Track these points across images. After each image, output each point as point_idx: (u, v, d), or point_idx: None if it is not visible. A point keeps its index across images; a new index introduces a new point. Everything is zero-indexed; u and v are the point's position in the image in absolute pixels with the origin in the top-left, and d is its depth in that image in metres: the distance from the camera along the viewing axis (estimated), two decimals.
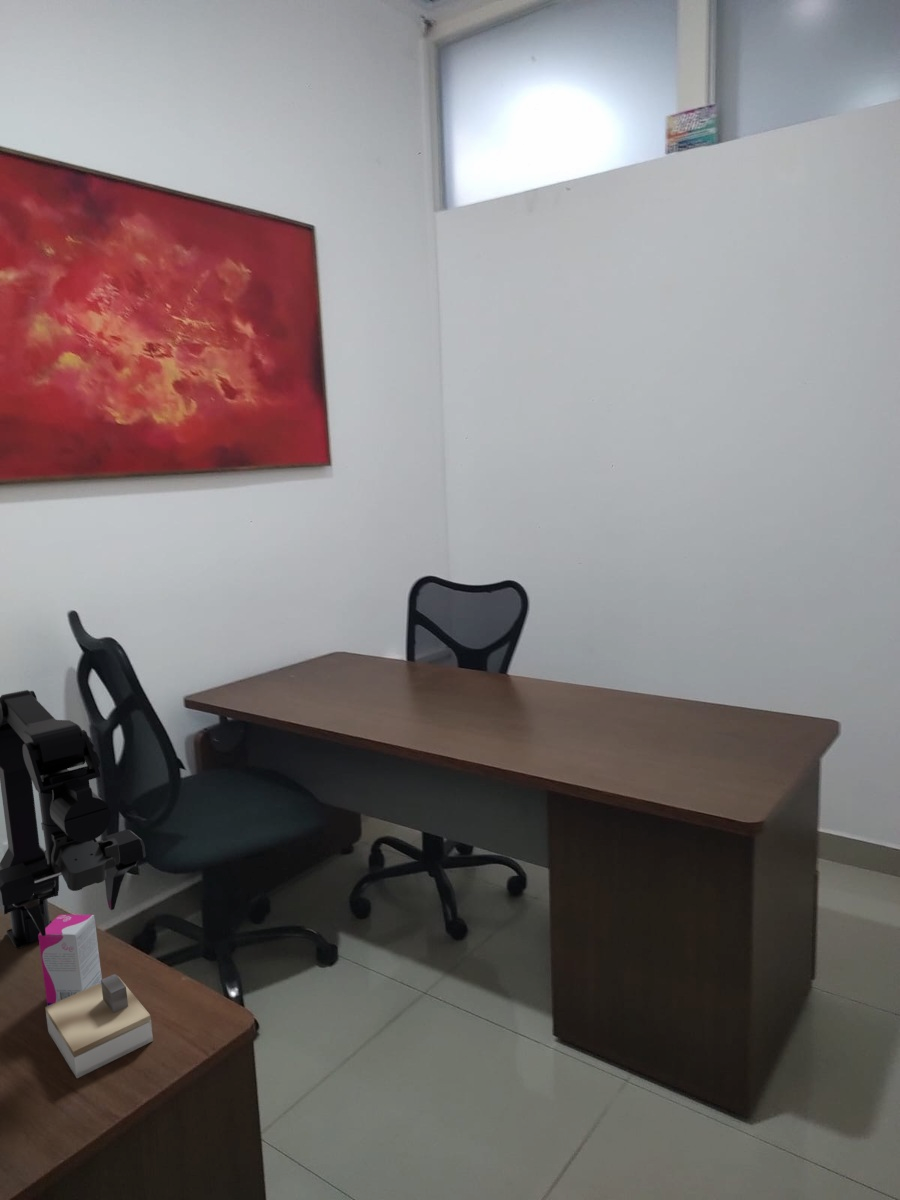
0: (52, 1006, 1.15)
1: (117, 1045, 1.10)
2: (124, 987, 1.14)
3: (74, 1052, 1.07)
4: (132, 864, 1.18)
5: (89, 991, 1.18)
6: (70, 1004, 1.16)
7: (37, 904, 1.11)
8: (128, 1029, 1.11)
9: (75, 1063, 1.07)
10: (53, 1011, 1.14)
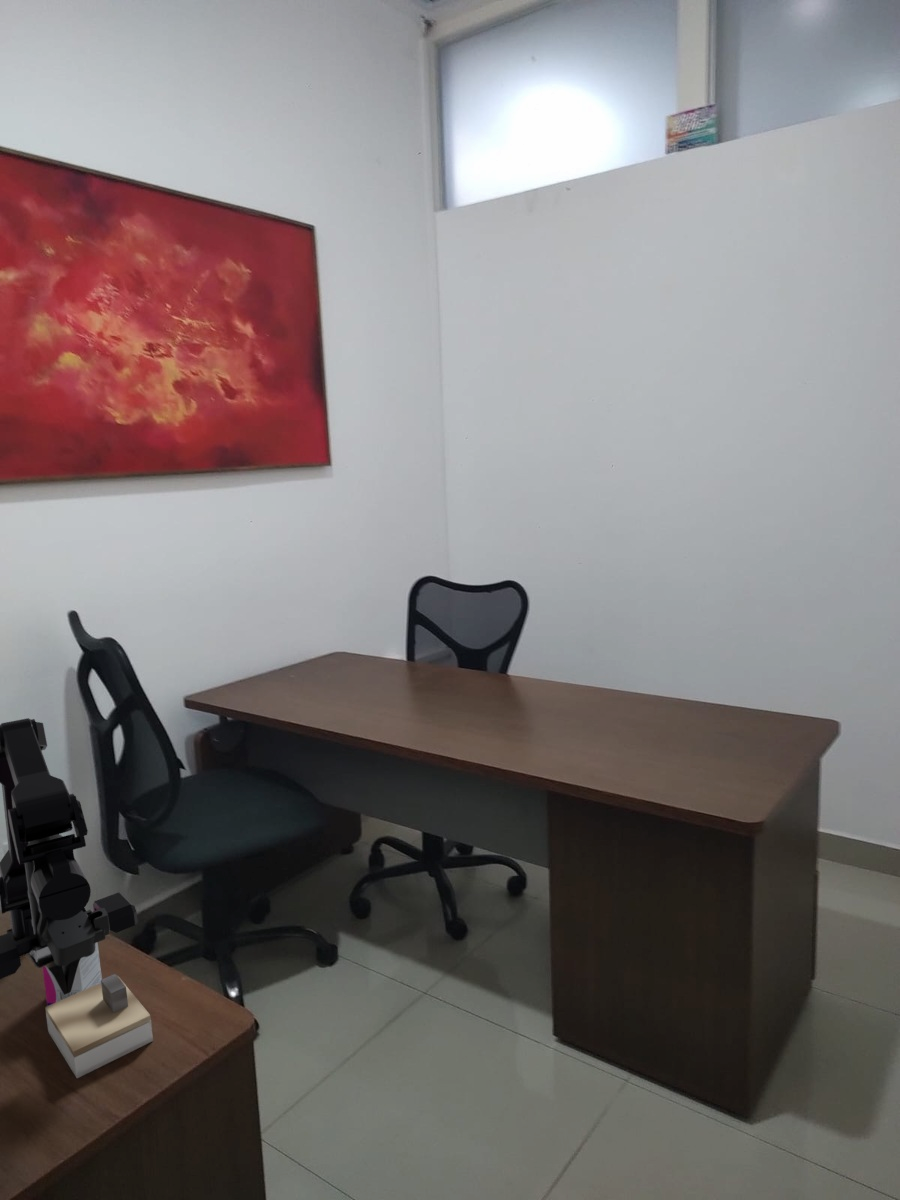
0: (52, 1006, 1.15)
1: (117, 1045, 1.10)
2: (124, 987, 1.14)
3: (74, 1052, 1.07)
4: None
5: (89, 991, 1.18)
6: (70, 1004, 1.16)
7: None
8: (128, 1029, 1.11)
9: (75, 1063, 1.07)
10: (53, 1011, 1.14)
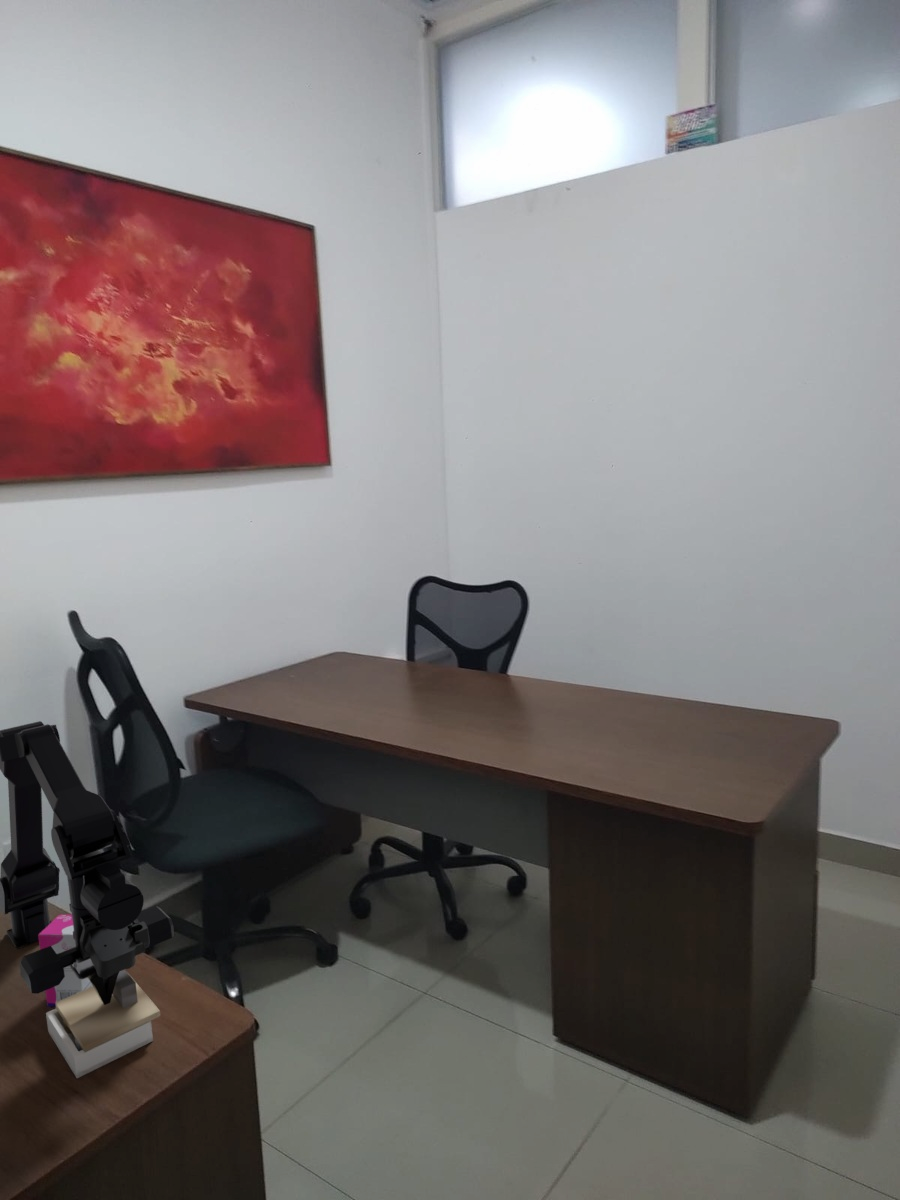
0: (62, 1002, 1.16)
1: (117, 1045, 1.10)
2: (134, 983, 1.15)
3: (85, 1047, 1.07)
4: None
5: None
6: (80, 999, 1.17)
7: None
8: (138, 1024, 1.12)
9: (75, 1063, 1.07)
10: (63, 1007, 1.15)
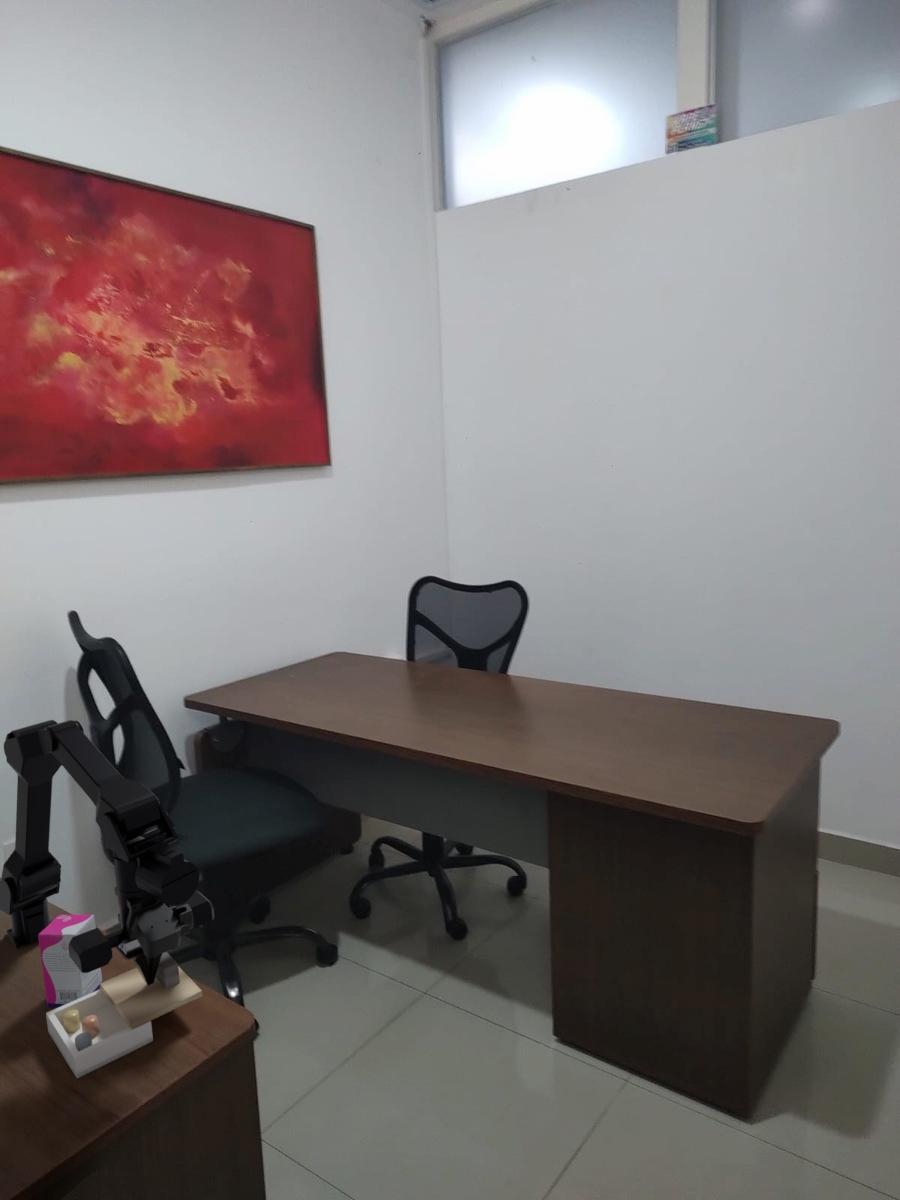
0: (106, 982, 1.20)
1: (117, 1045, 1.10)
2: (176, 964, 1.19)
3: (132, 1025, 1.11)
4: None
5: None
6: (123, 980, 1.21)
7: (145, 956, 1.16)
8: (181, 1004, 1.16)
9: (75, 1063, 1.07)
10: (108, 987, 1.19)
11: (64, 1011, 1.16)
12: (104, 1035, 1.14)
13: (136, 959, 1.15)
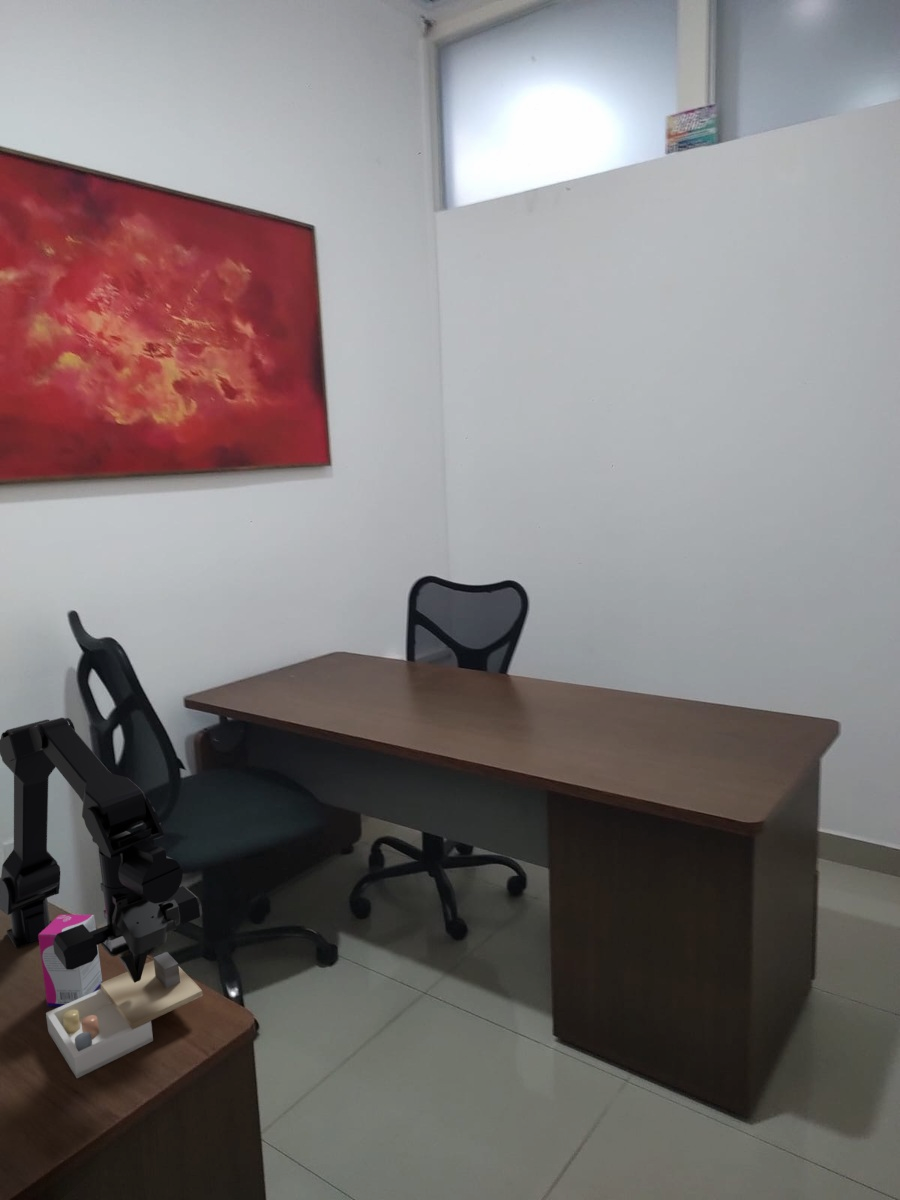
0: (107, 982, 1.20)
1: (117, 1045, 1.10)
2: (176, 964, 1.19)
3: (132, 1025, 1.11)
4: None
5: None
6: (124, 980, 1.21)
7: (131, 952, 1.15)
8: (182, 1003, 1.16)
9: (75, 1063, 1.07)
10: (108, 987, 1.19)
11: (64, 1011, 1.16)
12: (104, 1035, 1.14)
13: (122, 956, 1.14)
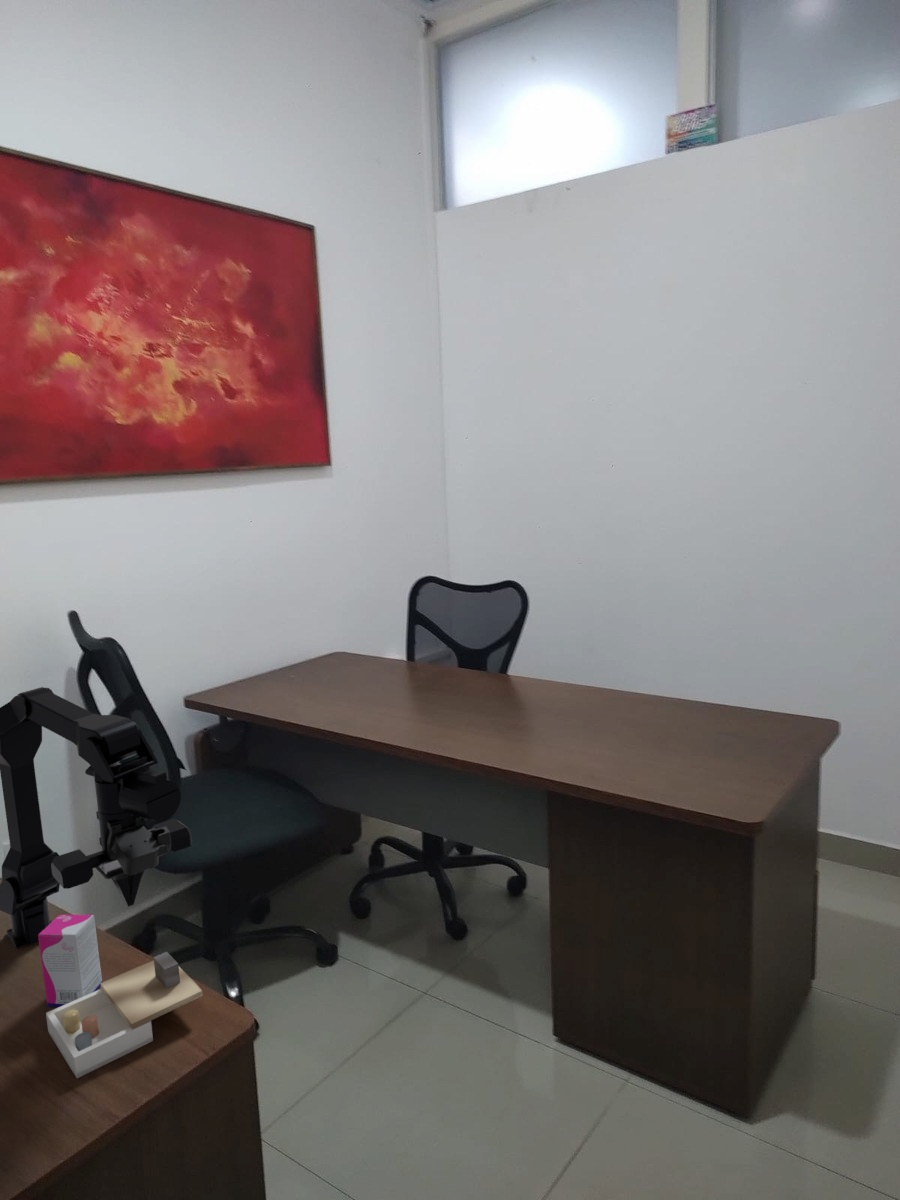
0: (107, 982, 1.20)
1: (117, 1045, 1.10)
2: (176, 964, 1.19)
3: (132, 1025, 1.11)
4: None
5: (141, 969, 1.23)
6: (124, 980, 1.21)
7: (125, 877, 1.21)
8: (182, 1003, 1.16)
9: (75, 1063, 1.07)
10: (108, 987, 1.19)
11: (64, 1011, 1.16)
12: (104, 1035, 1.14)
13: (116, 879, 1.20)
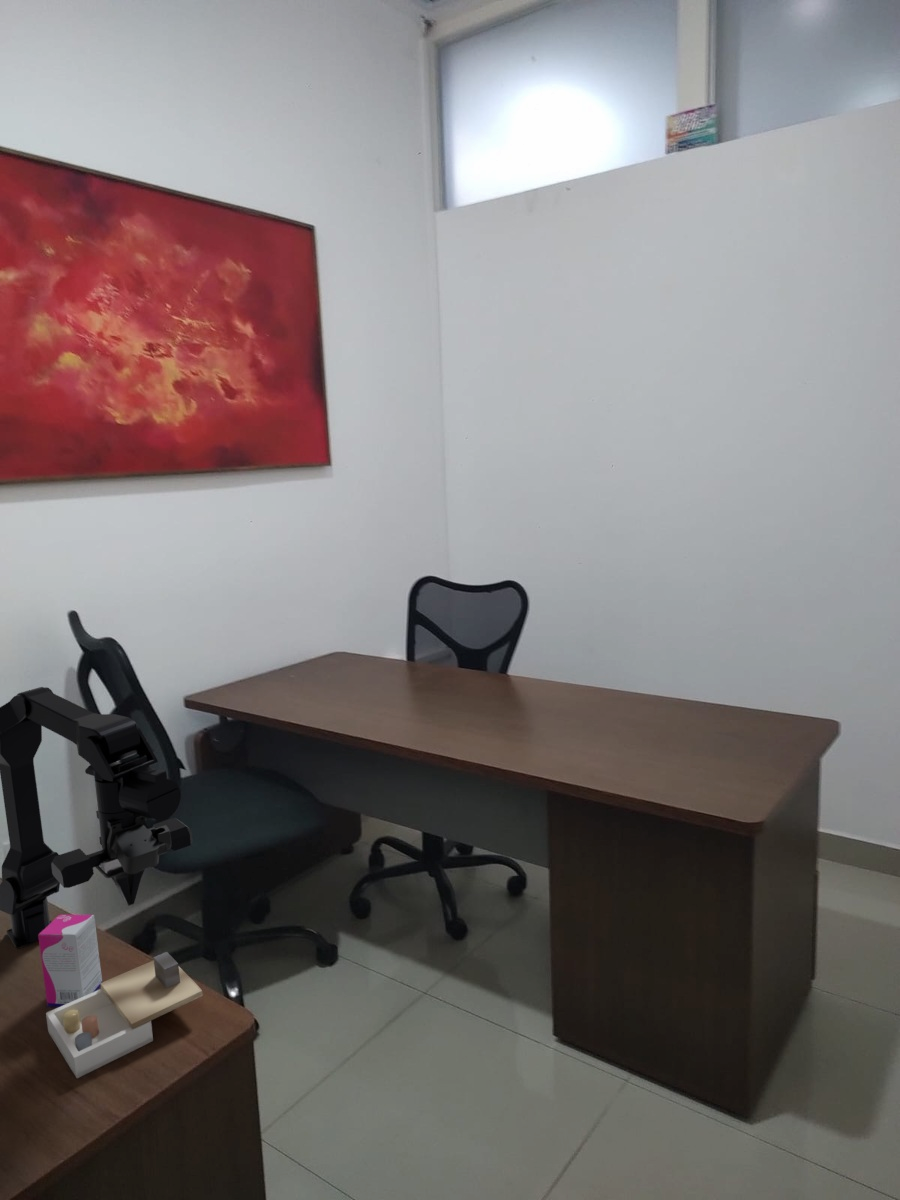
0: (107, 982, 1.20)
1: (117, 1045, 1.10)
2: (176, 964, 1.19)
3: (132, 1025, 1.11)
4: None
5: (141, 969, 1.23)
6: (124, 980, 1.21)
7: (125, 876, 1.21)
8: (182, 1003, 1.16)
9: (75, 1063, 1.07)
10: (108, 987, 1.19)
11: (64, 1011, 1.16)
12: (104, 1035, 1.14)
13: (116, 878, 1.20)
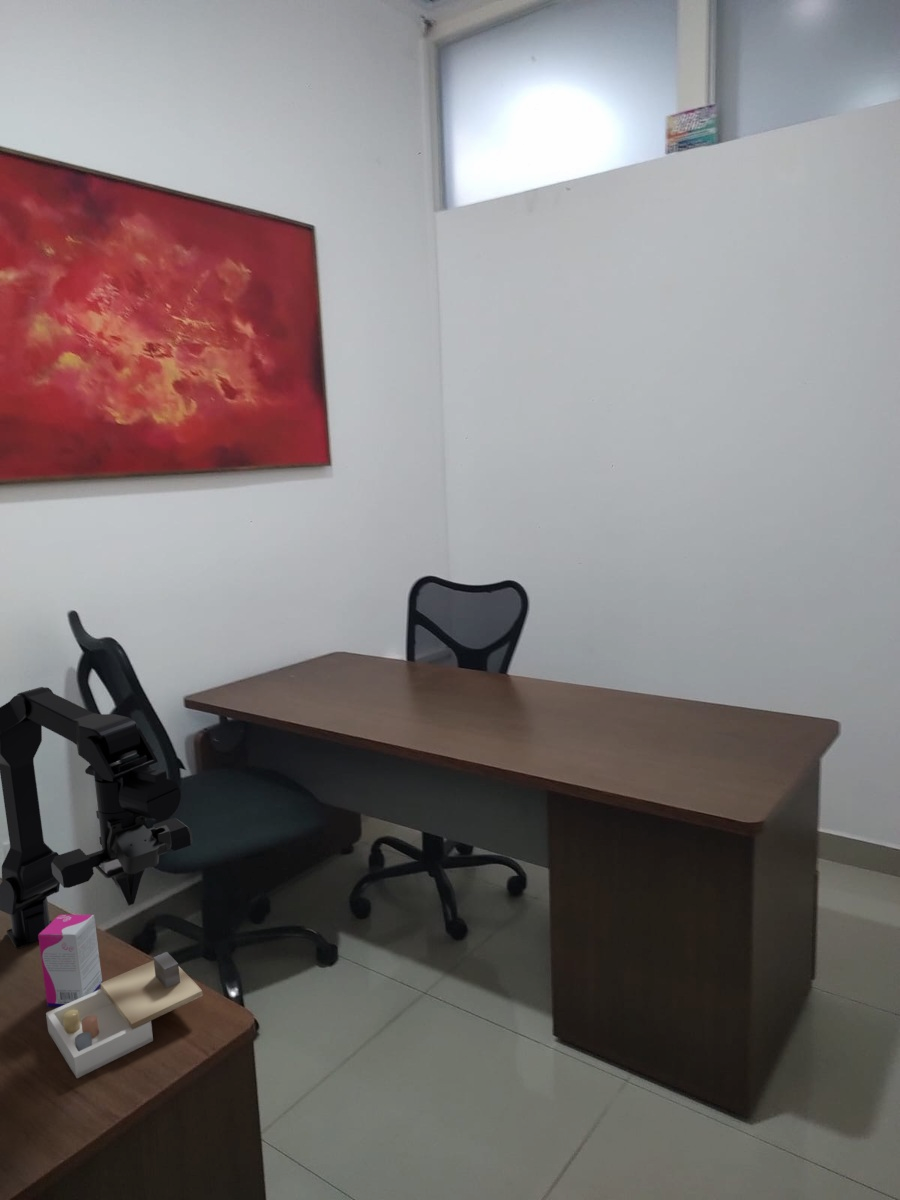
0: (107, 982, 1.20)
1: (117, 1045, 1.10)
2: (176, 964, 1.19)
3: (132, 1025, 1.11)
4: None
5: (141, 969, 1.23)
6: (124, 980, 1.21)
7: (125, 876, 1.21)
8: (182, 1003, 1.16)
9: (75, 1063, 1.07)
10: (108, 987, 1.19)
11: (64, 1011, 1.16)
12: (104, 1035, 1.14)
13: (116, 878, 1.20)
